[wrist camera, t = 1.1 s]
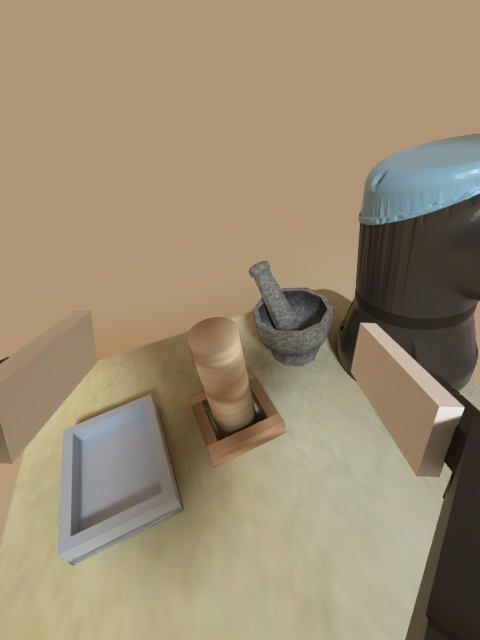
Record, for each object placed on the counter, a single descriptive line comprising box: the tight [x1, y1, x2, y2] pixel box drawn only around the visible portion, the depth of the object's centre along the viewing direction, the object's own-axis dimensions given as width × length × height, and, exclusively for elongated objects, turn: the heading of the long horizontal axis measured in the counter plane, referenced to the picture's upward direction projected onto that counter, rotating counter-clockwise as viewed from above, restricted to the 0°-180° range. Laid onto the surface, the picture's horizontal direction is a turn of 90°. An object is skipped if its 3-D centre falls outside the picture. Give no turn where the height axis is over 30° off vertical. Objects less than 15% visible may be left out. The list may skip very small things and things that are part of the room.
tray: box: [58, 394, 183, 565], centre depth 33 cm, size 10×13×2 cm
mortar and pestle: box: [249, 261, 334, 366], centre depth 40 cm, size 11×9×12 cm
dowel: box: [187, 317, 257, 437], centre depth 32 cm, size 5×5×13 cm
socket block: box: [189, 371, 285, 467], centre depth 36 cm, size 8×8×2 cm
